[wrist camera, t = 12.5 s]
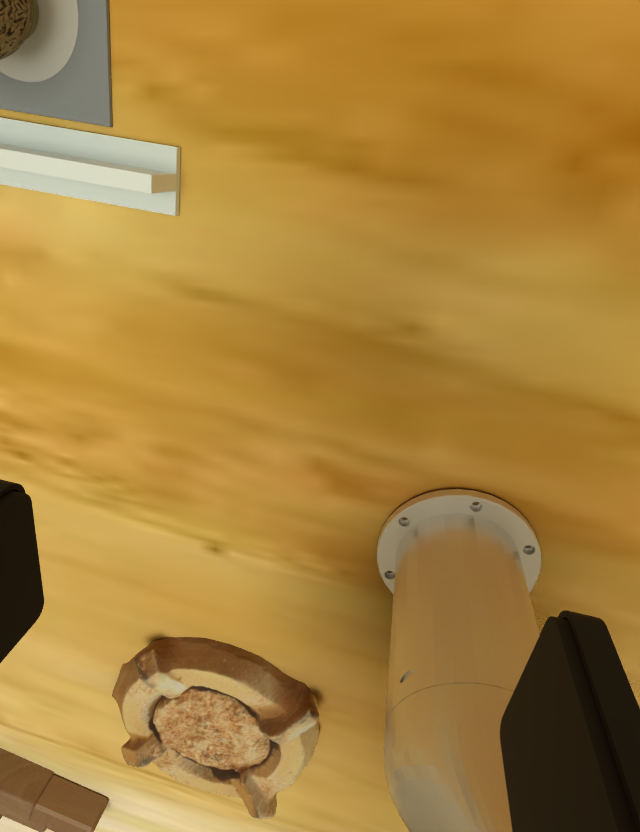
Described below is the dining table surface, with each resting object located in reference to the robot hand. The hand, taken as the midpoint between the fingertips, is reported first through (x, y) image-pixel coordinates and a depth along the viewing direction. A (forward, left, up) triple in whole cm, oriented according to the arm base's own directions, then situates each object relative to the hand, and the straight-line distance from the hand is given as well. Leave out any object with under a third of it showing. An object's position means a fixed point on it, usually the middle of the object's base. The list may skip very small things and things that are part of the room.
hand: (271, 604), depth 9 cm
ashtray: (-48, +8, -29) cm, 56 cm away
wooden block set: (-77, +32, -29) cm, 88 cm away
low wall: (+4, +21, -28) cm, 35 cm away
